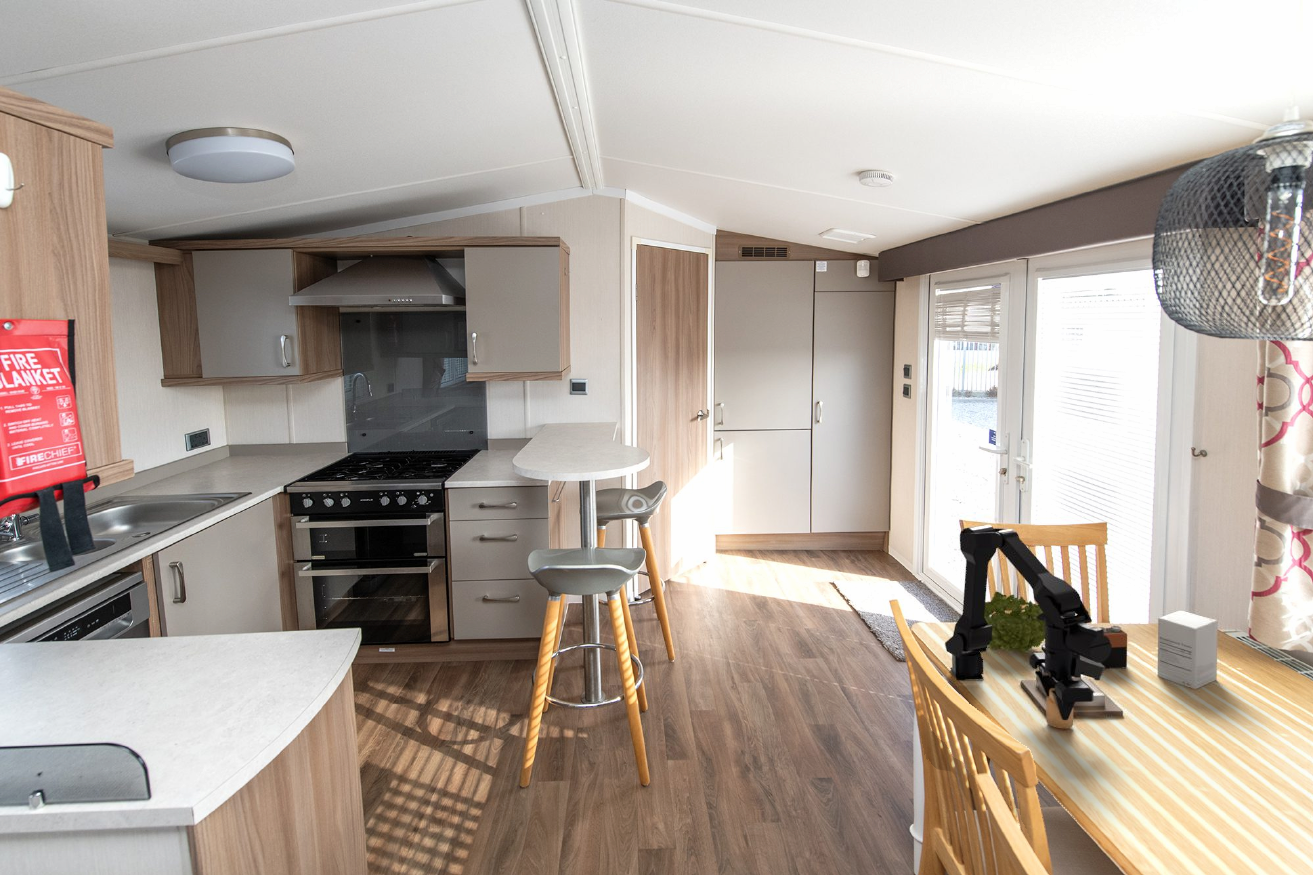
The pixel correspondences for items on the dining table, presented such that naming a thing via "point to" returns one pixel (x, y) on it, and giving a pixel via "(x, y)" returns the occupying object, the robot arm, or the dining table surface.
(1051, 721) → the tan rounded cylinder
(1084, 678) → the collar board
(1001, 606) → the green leafy plant
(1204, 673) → the supplement box
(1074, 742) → the dining table surface
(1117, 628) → the battery
